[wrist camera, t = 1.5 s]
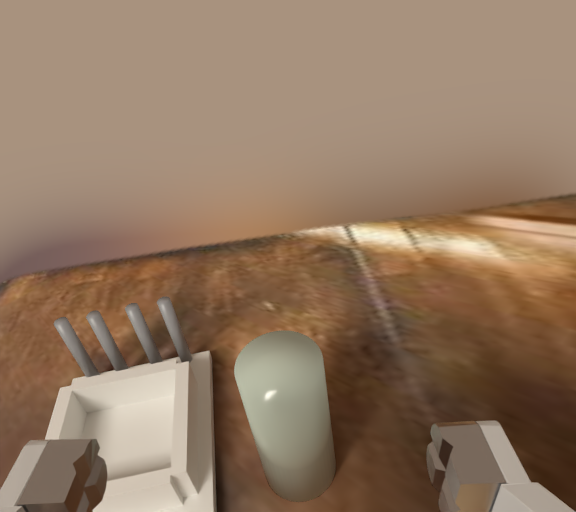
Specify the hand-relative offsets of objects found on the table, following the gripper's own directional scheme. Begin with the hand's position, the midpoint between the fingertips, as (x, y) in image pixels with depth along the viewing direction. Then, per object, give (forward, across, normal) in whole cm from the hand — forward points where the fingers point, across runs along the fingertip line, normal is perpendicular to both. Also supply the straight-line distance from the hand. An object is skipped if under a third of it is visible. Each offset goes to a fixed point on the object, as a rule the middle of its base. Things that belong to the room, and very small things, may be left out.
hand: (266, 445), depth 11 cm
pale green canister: (+13, -1, +19) cm, 23 cm away
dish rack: (+15, +11, +20) cm, 28 cm away
